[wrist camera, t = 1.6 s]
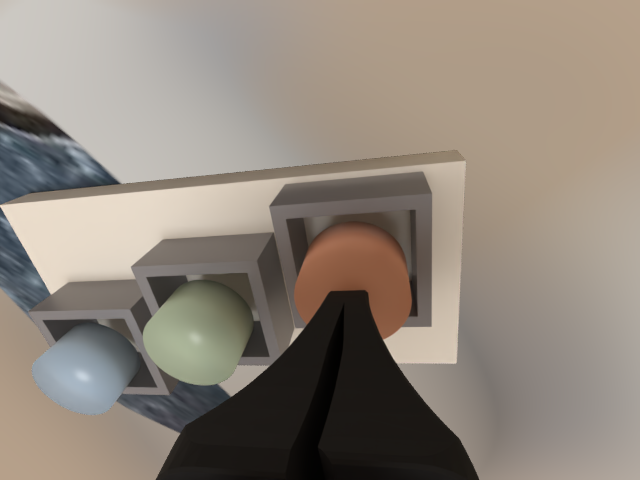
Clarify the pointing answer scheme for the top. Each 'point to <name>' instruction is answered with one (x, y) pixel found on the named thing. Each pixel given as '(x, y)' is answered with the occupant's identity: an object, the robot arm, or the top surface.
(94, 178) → the top surface
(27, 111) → the top surface
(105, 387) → the button blue
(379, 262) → the button terracotta
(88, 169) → the top surface
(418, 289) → the panel
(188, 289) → the button green
